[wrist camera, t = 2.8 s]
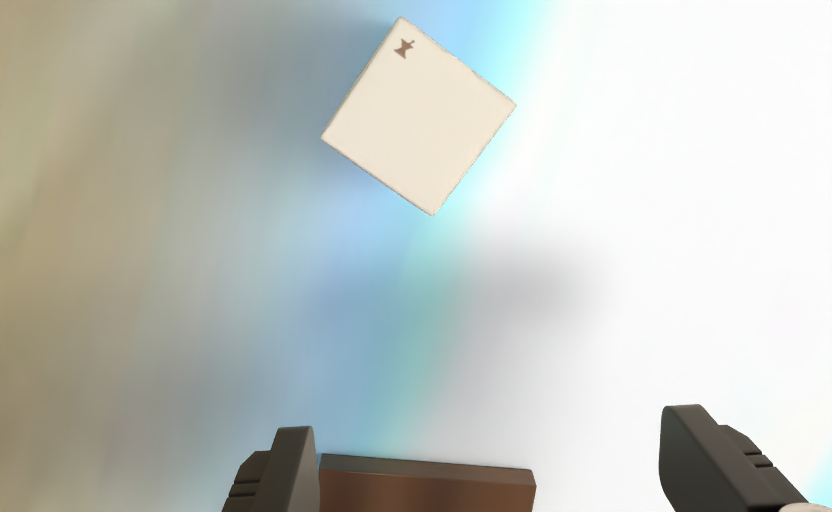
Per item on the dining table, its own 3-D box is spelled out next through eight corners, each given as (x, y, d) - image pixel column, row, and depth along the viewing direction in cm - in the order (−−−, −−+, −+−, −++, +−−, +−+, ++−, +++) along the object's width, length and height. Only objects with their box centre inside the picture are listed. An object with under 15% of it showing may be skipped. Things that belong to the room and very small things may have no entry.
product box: (332, 122, 34) (314, 136, 27) (400, 22, 32) (399, 9, 25) (427, 190, 35) (433, 221, 28) (496, 96, 33) (521, 103, 26)
